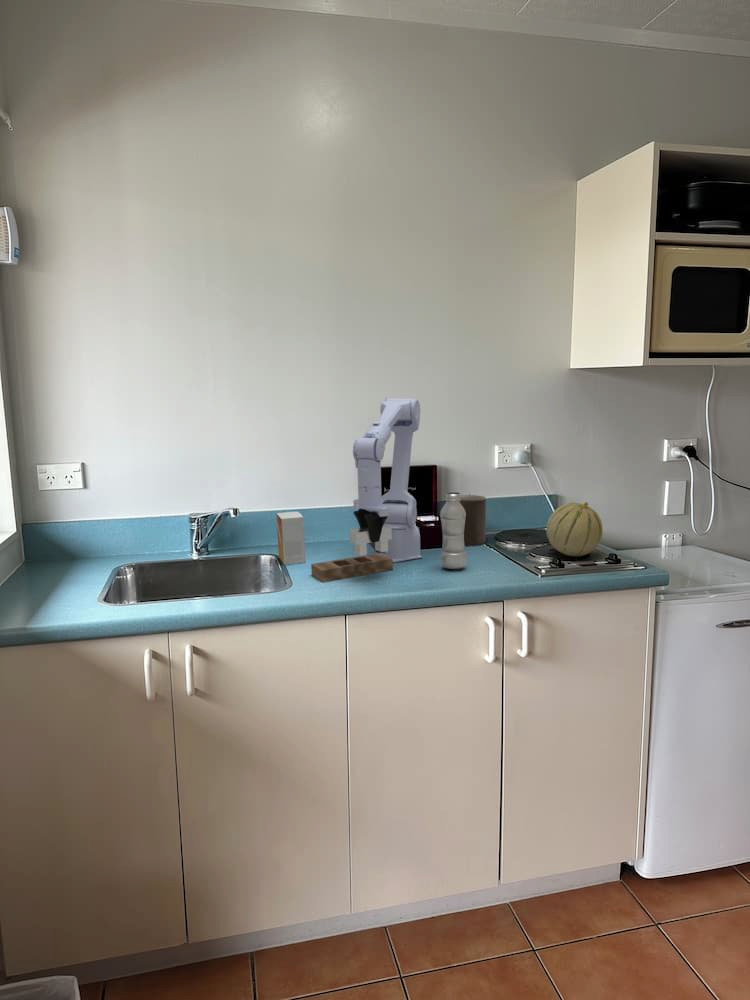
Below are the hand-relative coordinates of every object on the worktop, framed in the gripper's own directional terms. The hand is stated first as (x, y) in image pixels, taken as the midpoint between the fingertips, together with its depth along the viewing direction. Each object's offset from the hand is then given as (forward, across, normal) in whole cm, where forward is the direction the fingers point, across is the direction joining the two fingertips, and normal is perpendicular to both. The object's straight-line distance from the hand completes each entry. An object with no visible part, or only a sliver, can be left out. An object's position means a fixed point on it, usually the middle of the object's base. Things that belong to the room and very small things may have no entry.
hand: (371, 539), depth 175 cm
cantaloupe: (+10, +12, +57) cm, 59 cm away
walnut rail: (+10, -7, -2) cm, 12 cm away
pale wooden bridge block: (+3, 0, 0) cm, 3 cm away
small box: (+10, -27, -11) cm, 31 cm away
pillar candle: (+10, -16, +42) cm, 46 cm away
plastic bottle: (+10, +4, +22) cm, 24 cm away
